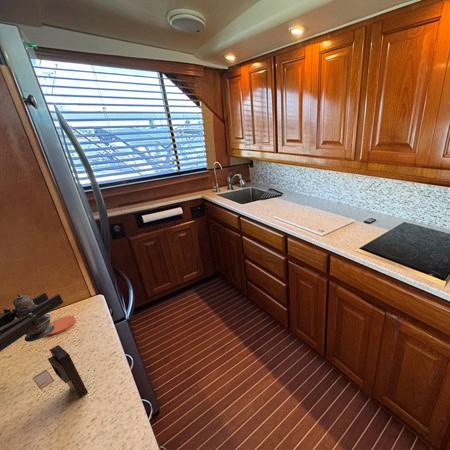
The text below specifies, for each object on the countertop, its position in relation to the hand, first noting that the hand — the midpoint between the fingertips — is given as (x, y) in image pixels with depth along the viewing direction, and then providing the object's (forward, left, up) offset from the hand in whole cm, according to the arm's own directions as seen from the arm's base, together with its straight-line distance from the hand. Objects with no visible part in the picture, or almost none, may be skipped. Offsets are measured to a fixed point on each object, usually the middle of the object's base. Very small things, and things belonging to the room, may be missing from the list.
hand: (53, 297), depth 62 cm
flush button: (+16, -14, -9) cm, 23 cm away
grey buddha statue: (0, -5, -7) cm, 9 cm away
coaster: (-11, +4, -15) cm, 19 cm away
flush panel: (+16, -11, -15) cm, 25 cm away
